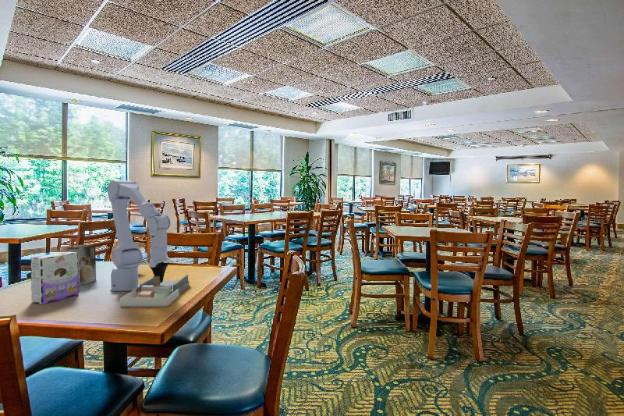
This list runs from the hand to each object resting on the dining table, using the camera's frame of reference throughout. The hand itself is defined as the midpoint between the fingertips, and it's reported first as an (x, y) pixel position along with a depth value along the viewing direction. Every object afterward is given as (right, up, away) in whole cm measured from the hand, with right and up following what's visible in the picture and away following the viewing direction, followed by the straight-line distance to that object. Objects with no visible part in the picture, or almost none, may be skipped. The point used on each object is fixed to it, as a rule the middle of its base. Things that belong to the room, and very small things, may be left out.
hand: (159, 282), depth 144 cm
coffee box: (-41, -4, +19) cm, 45 cm away
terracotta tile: (-3, -4, -5) cm, 7 cm away
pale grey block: (0, -2, -2) cm, 3 cm away
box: (0, -5, -8) cm, 10 cm away
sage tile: (+3, -4, -5) cm, 7 cm away
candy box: (-36, -5, -5) cm, 37 cm away
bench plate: (0, -5, +7) cm, 8 cm away
